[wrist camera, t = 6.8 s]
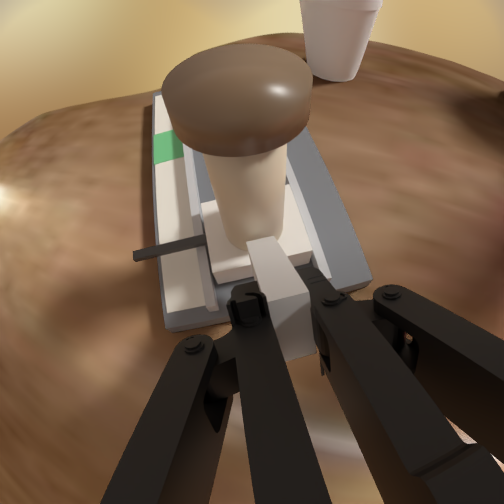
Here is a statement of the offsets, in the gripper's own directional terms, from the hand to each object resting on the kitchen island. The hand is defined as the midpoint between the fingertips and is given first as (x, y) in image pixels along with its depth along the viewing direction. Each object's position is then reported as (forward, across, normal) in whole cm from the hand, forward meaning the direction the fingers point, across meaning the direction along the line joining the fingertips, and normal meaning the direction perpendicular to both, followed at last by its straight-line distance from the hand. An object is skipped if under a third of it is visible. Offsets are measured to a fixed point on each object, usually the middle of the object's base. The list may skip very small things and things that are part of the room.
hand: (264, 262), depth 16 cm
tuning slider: (+4, +2, 0) cm, 5 cm away
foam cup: (+22, -15, -14) cm, 30 cm away
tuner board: (+12, 0, -5) cm, 12 cm away
